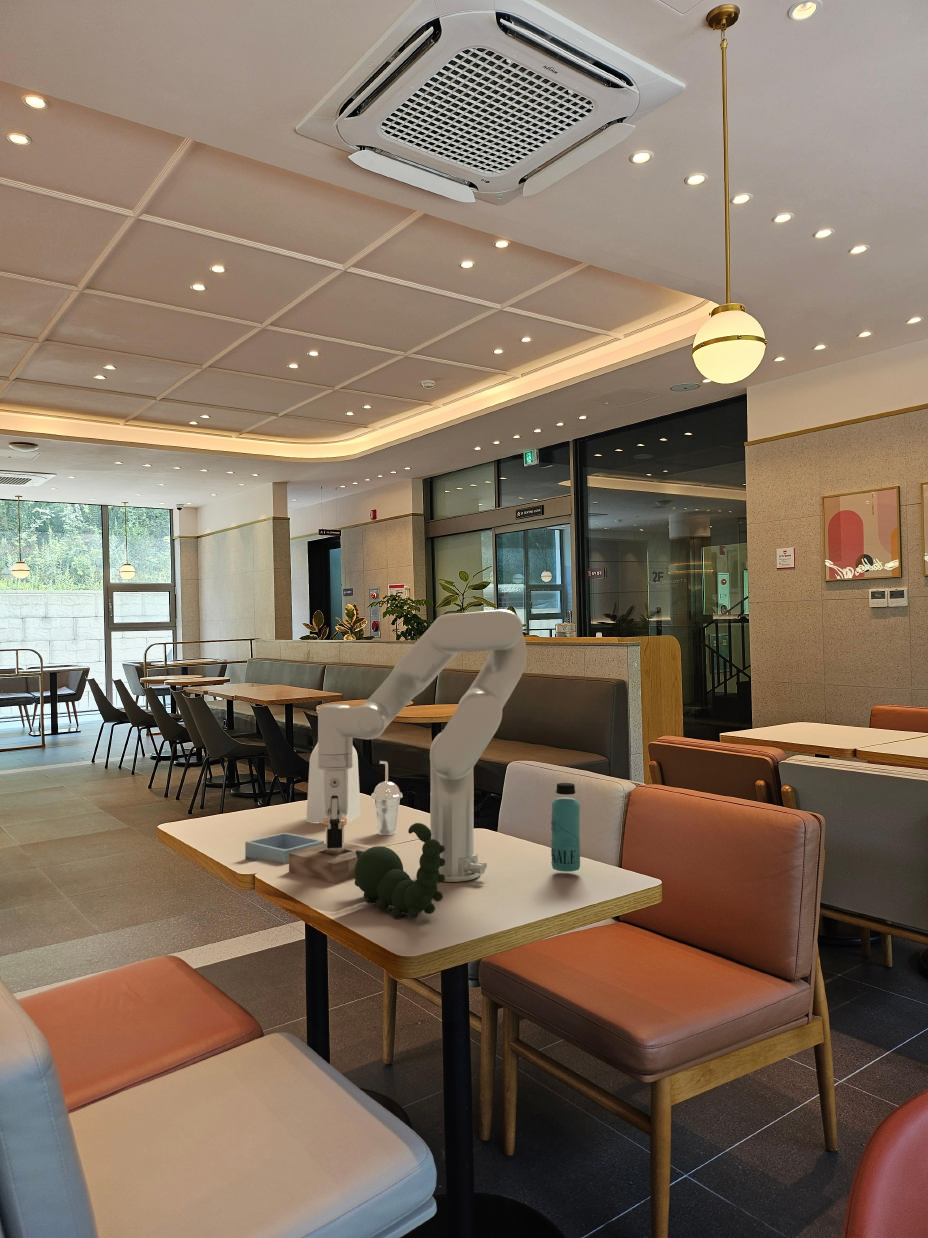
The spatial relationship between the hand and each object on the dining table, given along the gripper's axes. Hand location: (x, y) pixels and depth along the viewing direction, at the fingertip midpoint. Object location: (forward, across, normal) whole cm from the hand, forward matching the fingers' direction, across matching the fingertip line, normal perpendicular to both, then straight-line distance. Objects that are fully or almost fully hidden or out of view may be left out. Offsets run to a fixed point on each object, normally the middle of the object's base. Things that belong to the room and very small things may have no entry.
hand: (334, 843), depth 181 cm
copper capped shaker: (+6, 0, 0) cm, 6 cm away
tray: (+7, +16, +12) cm, 21 cm away
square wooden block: (+7, 0, 0) cm, 7 cm away
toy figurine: (+7, -25, -12) cm, 29 cm away
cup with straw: (+7, +38, -13) cm, 41 cm away
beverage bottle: (+7, -6, -50) cm, 51 cm away
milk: (+7, +58, +1) cm, 58 cm away
